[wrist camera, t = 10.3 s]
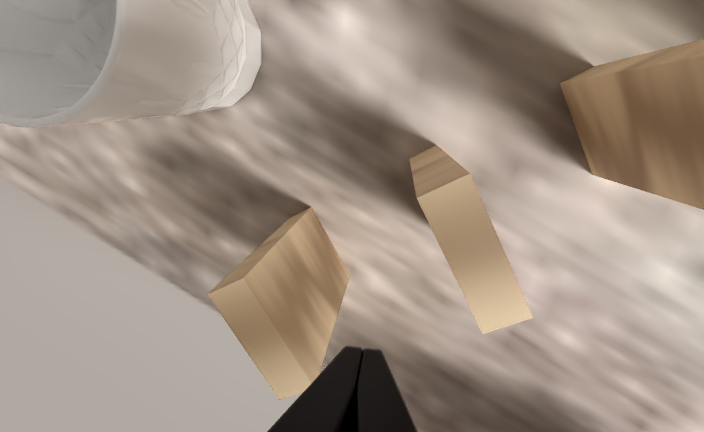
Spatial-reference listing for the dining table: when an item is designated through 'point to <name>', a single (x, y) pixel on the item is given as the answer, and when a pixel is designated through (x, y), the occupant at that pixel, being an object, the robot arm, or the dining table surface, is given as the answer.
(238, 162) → the dining table surface
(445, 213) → the domino
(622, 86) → the domino
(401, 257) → the dining table surface
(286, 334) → the domino
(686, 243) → the dining table surface
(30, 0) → the white cup
